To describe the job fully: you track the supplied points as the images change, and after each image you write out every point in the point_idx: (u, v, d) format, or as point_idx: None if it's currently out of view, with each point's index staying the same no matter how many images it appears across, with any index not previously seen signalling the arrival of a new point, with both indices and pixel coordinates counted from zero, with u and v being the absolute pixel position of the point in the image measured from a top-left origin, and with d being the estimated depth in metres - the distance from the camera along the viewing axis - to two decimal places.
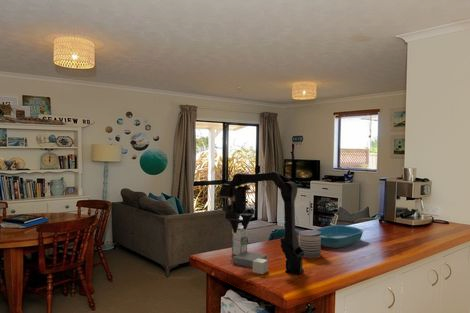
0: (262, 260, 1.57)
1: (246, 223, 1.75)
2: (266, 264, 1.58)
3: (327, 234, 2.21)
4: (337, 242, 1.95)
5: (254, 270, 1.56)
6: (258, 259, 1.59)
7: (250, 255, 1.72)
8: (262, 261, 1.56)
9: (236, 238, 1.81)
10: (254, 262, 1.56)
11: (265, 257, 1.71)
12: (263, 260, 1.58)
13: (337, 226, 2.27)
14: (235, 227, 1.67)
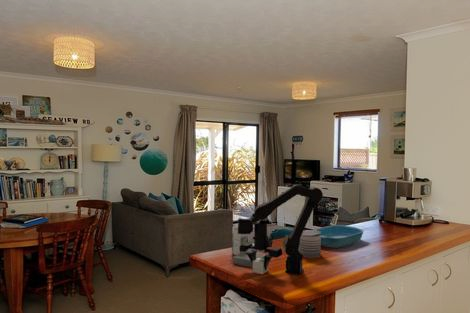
0: (262, 260, 1.57)
1: None
2: None
3: (327, 234, 2.21)
4: (337, 242, 1.96)
5: (254, 270, 1.56)
6: (258, 259, 1.59)
7: None
8: (262, 261, 1.56)
9: (236, 238, 1.81)
10: (254, 262, 1.56)
11: None
12: (263, 260, 1.58)
13: (337, 226, 2.26)
14: None
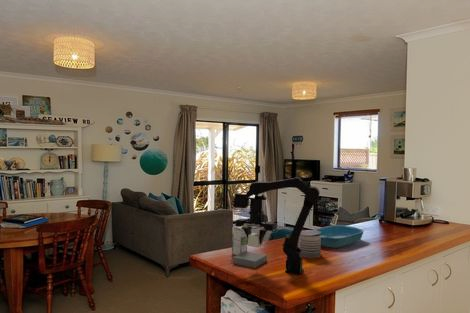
0: (257, 234, 1.62)
1: None
2: None
3: (327, 234, 2.21)
4: (336, 242, 1.96)
5: (249, 244, 1.61)
6: (253, 233, 1.64)
7: (250, 255, 1.72)
8: (258, 235, 1.61)
9: (236, 238, 1.81)
10: (249, 236, 1.61)
11: (265, 257, 1.71)
12: (258, 234, 1.63)
13: (338, 226, 2.26)
14: None
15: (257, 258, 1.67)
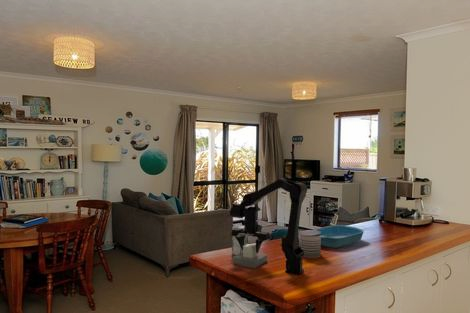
0: (251, 246, 1.70)
1: None
2: None
3: (328, 234, 2.21)
4: (336, 242, 1.96)
5: (244, 254, 1.69)
6: (248, 244, 1.72)
7: None
8: (252, 246, 1.69)
9: None
10: (244, 247, 1.69)
11: (265, 257, 1.71)
12: (253, 245, 1.70)
13: (338, 226, 2.26)
14: None
15: (257, 258, 1.67)
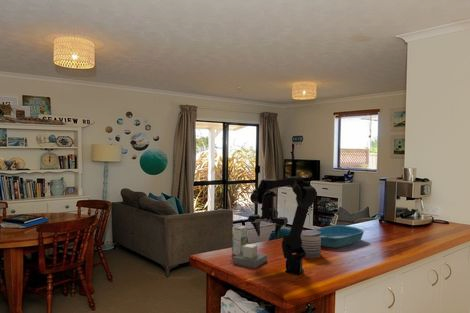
0: (251, 246, 1.70)
1: None
2: (256, 249, 1.70)
3: (328, 234, 2.21)
4: (335, 242, 1.96)
5: (244, 254, 1.69)
6: (248, 244, 1.72)
7: None
8: (252, 246, 1.69)
9: (236, 238, 1.81)
10: (244, 247, 1.69)
11: (265, 257, 1.71)
12: (253, 245, 1.70)
13: (338, 226, 2.26)
14: None
15: (257, 258, 1.67)
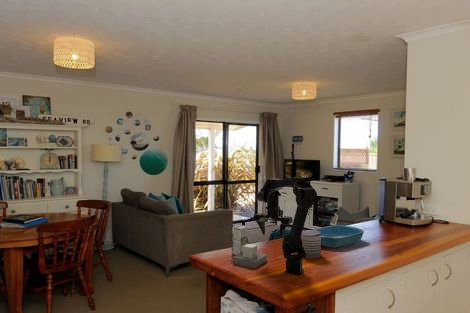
0: (251, 246, 1.70)
1: None
2: (256, 249, 1.70)
3: (328, 234, 2.21)
4: (335, 242, 1.96)
5: (244, 254, 1.69)
6: (248, 244, 1.72)
7: None
8: (252, 246, 1.69)
9: (236, 238, 1.81)
10: (244, 247, 1.69)
11: (265, 257, 1.71)
12: (253, 245, 1.70)
13: (338, 226, 2.26)
14: None
15: (257, 258, 1.67)
